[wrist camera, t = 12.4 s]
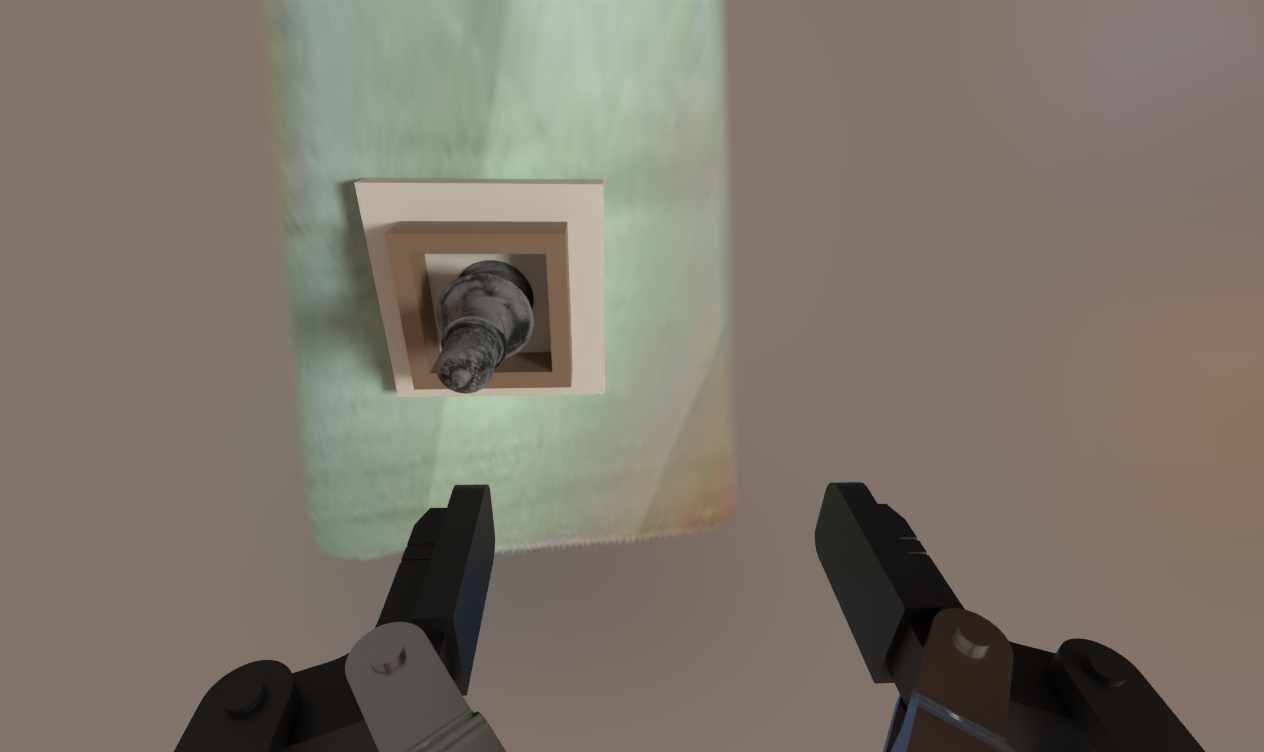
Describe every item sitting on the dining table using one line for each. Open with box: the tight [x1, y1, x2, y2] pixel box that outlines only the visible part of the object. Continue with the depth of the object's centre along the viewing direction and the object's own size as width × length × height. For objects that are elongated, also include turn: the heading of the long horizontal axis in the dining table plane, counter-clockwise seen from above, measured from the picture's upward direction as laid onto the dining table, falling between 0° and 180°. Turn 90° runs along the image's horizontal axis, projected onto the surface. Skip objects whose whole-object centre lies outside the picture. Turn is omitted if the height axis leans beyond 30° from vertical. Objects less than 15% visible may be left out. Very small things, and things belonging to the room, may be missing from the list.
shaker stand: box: [354, 178, 605, 397], centre depth 38 cm, size 15×15×4 cm
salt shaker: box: [436, 260, 534, 394], centre depth 33 cm, size 6×6×12 cm
